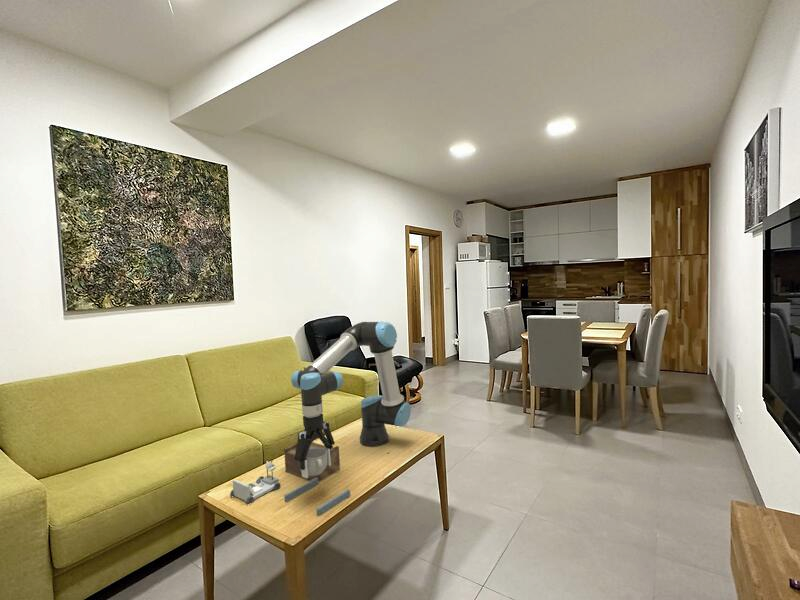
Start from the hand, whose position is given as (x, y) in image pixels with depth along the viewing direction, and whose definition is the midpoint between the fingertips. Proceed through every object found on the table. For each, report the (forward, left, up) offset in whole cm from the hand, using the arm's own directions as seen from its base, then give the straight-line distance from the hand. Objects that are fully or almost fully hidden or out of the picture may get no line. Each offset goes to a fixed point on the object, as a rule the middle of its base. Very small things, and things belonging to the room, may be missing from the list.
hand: (316, 470), depth 154 cm
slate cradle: (0, 0, -11) cm, 11 cm away
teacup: (+1, 0, -1) cm, 1 cm away
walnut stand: (-15, -20, -11) cm, 27 cm away
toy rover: (+9, -25, -11) cm, 29 cm away
